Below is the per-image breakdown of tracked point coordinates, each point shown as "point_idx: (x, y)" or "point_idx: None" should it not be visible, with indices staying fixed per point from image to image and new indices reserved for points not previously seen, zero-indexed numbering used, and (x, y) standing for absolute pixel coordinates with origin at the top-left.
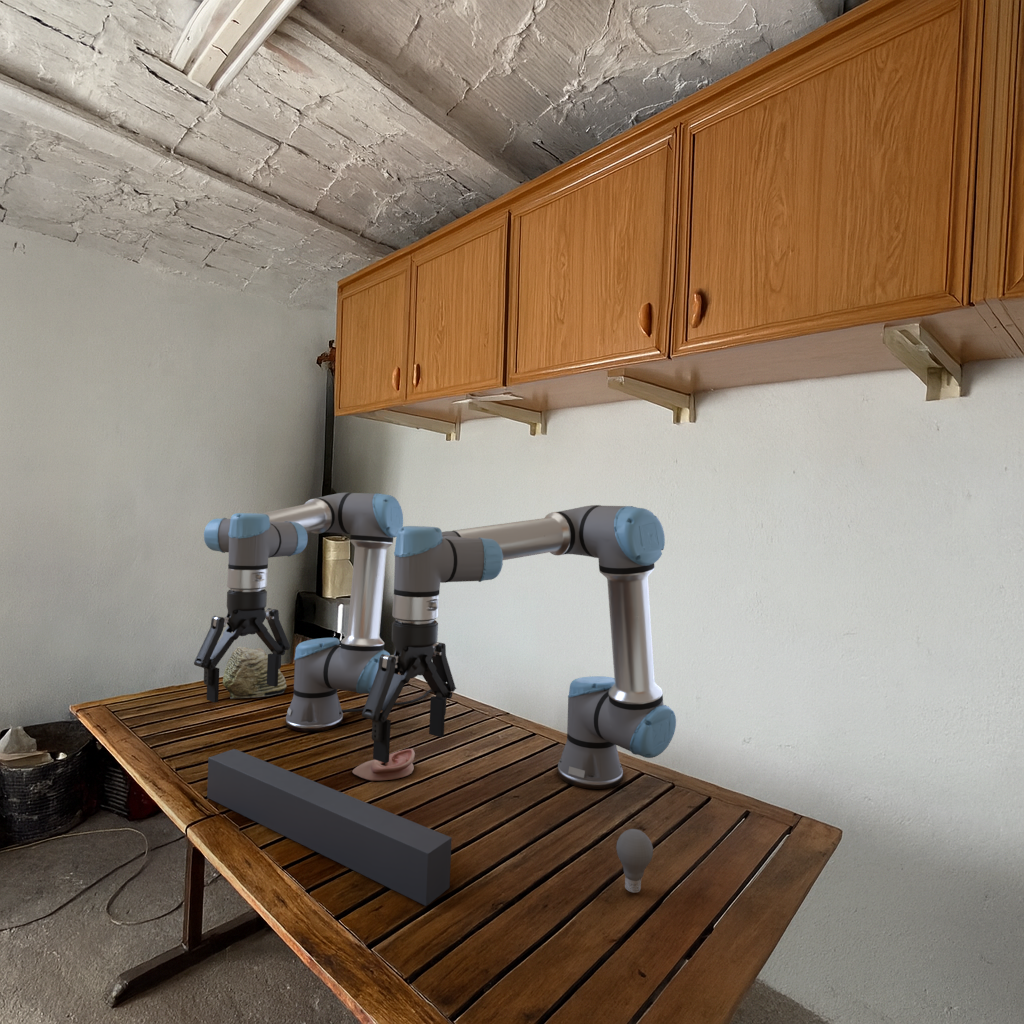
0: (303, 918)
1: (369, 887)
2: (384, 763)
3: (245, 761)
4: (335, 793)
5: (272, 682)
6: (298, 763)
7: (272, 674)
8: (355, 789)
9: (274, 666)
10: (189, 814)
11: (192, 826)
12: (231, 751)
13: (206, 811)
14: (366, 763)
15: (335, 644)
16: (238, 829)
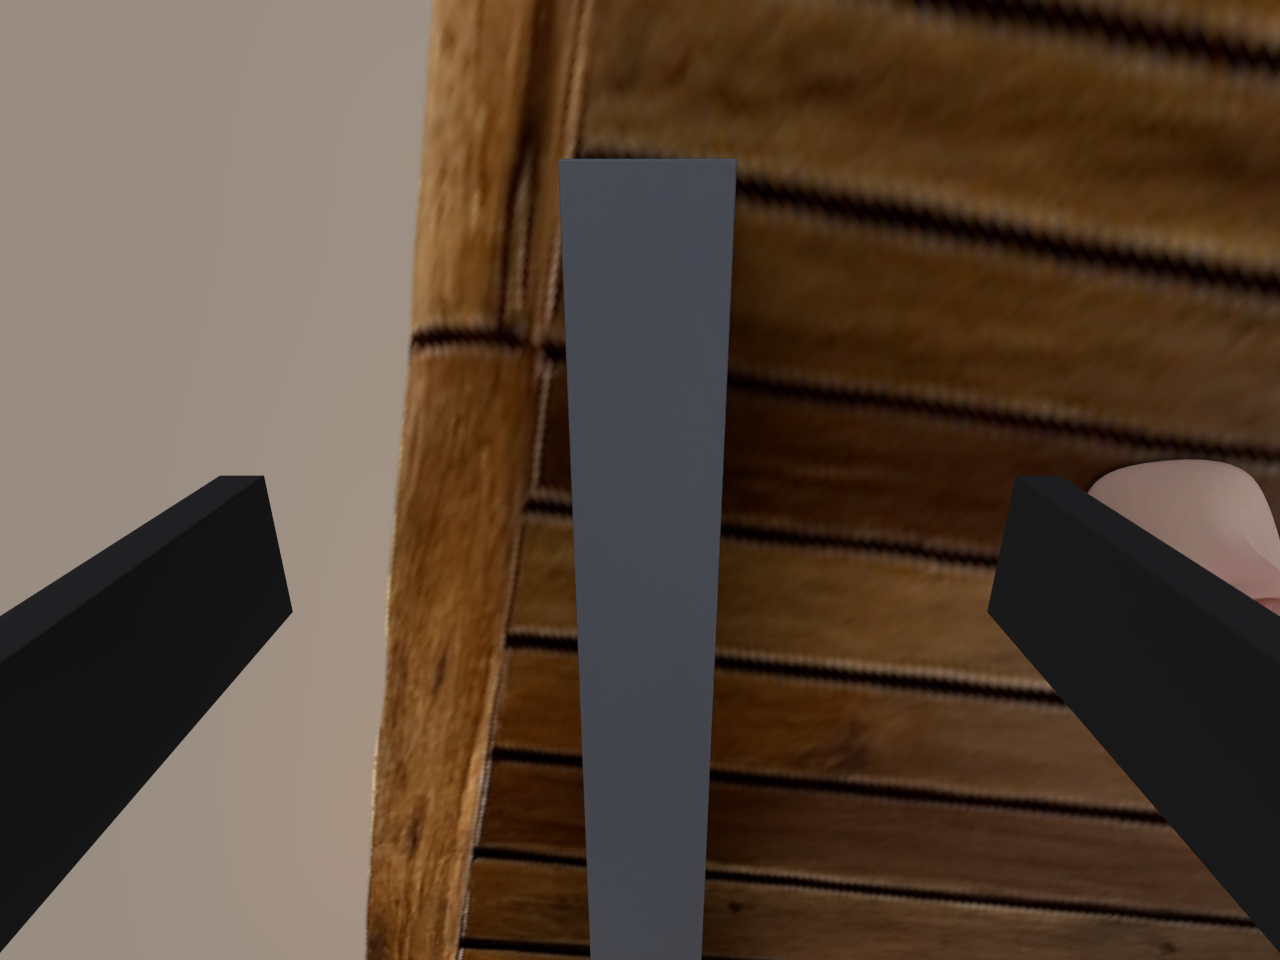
0: (412, 903)
1: (578, 928)
2: None
3: (659, 382)
4: (686, 869)
5: (1017, 594)
6: (1079, 189)
7: (1076, 648)
8: (975, 584)
9: (1146, 775)
10: (455, 257)
11: (420, 357)
12: (699, 186)
13: (514, 289)
14: (1162, 520)
15: None
16: (522, 501)
